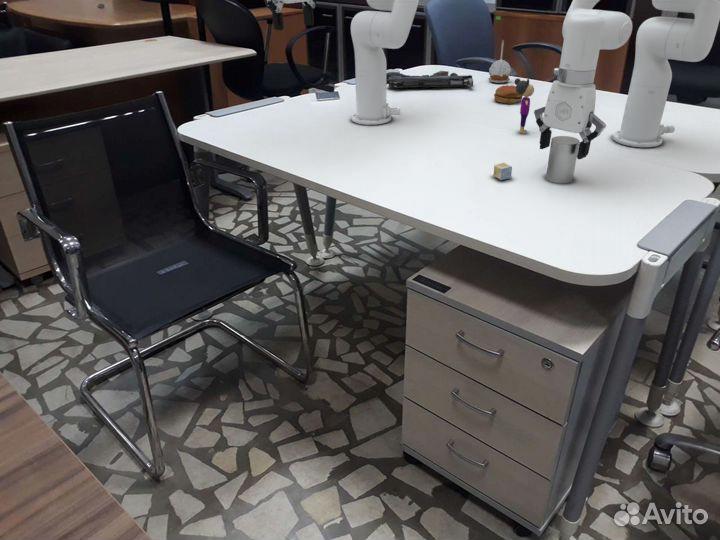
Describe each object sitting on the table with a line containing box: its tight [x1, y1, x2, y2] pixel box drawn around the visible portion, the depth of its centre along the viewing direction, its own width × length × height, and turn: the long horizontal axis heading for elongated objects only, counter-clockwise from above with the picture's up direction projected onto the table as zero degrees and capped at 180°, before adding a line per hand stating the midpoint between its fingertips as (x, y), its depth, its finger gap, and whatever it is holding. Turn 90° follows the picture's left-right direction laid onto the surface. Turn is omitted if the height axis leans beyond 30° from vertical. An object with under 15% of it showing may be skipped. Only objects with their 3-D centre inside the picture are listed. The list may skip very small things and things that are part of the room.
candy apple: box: [487, 39, 512, 84], centre depth 216 cm, size 8×8×15 cm
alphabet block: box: [493, 162, 513, 181], centre depth 136 cm, size 3×3×3 cm
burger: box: [493, 84, 524, 105], centre depth 195 cm, size 10×9×5 cm
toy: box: [514, 77, 535, 134], centre depth 162 cm, size 10×6×15 cm, turn 168°
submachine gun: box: [386, 70, 474, 89], centre depth 219 cm, size 33×4×25 cm
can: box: [545, 135, 581, 184], centre depth 133 cm, size 6×6×10 cm
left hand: (294, 27), depth 143 cm, fingers open, 9 cm apart
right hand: (562, 152), depth 132 cm, fingers open, 9 cm apart
